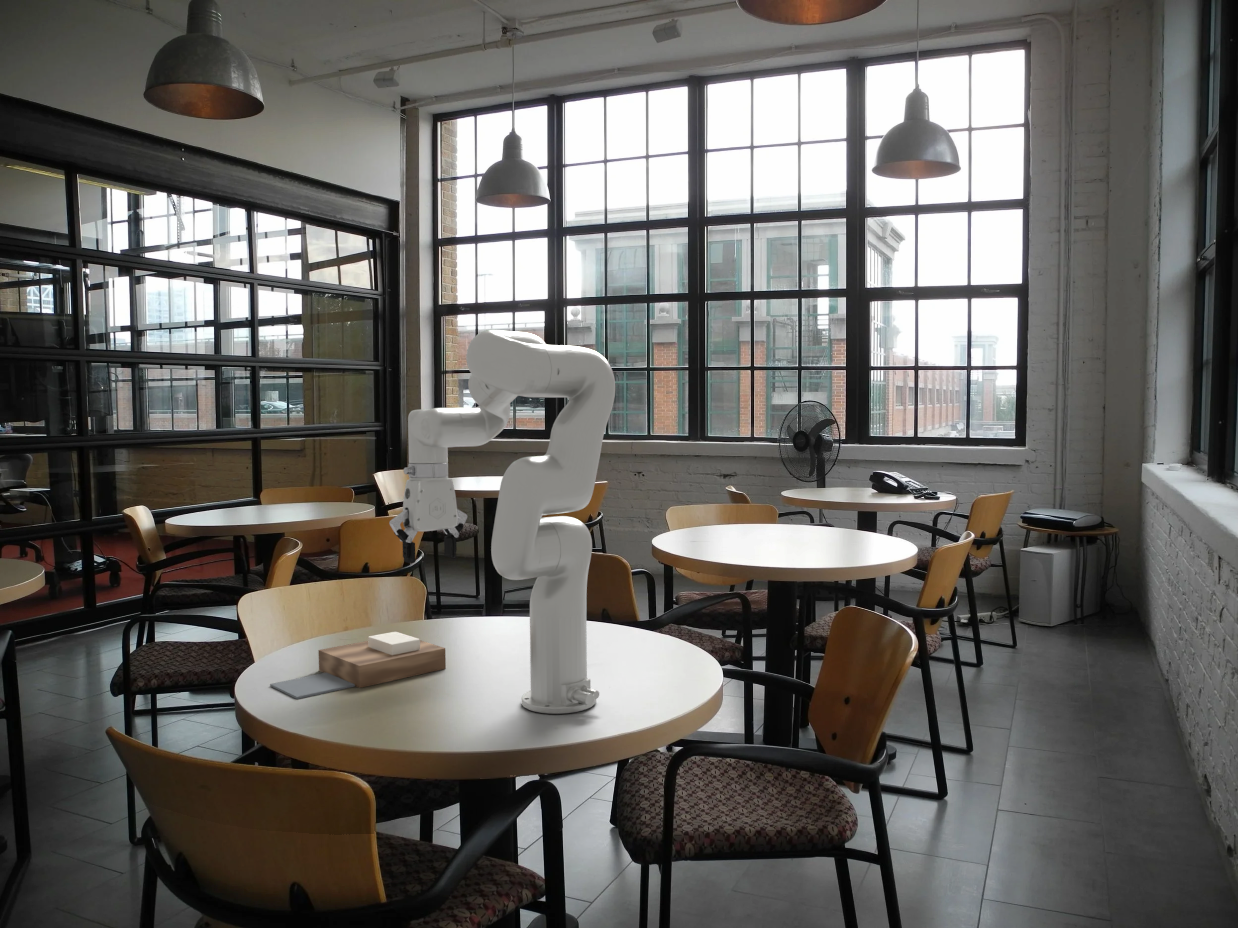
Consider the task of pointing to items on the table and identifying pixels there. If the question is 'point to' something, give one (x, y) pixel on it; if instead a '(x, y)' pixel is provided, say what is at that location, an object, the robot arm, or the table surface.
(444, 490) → the robot arm
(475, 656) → the table surface
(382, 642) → the cream white rectangular block
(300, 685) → the mat
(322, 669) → the board
